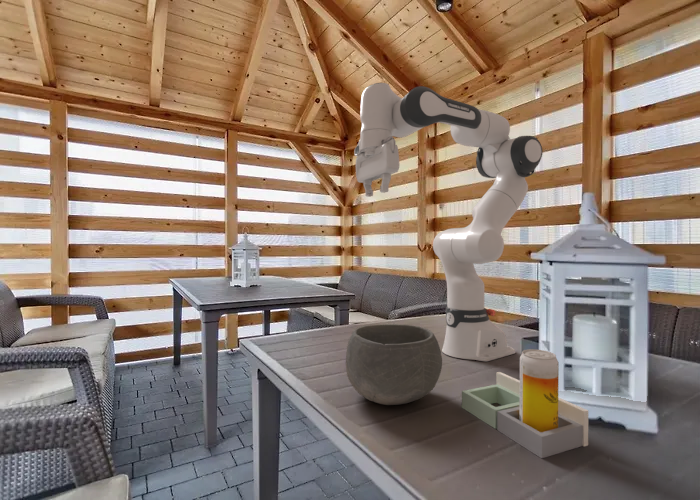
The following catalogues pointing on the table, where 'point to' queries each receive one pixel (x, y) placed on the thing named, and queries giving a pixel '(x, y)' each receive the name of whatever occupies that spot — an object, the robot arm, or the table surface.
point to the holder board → (507, 422)
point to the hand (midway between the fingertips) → (376, 194)
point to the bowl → (393, 362)
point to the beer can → (539, 389)
